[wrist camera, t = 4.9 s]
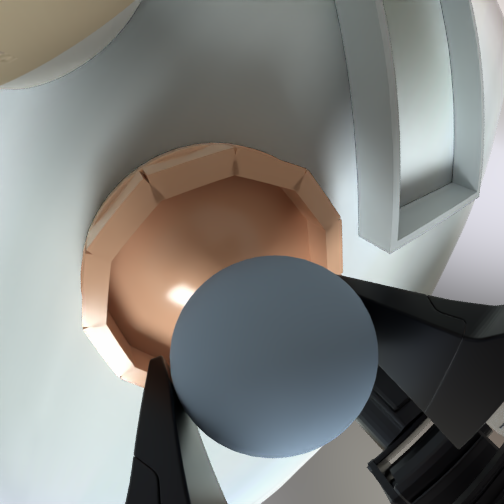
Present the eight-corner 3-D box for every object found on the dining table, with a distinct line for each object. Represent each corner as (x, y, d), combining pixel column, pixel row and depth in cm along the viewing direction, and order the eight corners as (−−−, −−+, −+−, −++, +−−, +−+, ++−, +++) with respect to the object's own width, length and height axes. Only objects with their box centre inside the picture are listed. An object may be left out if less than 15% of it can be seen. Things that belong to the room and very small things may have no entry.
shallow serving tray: (454, 187, 18) (478, 196, 16) (358, 236, 15) (389, 254, 13) (439, -15, 10) (466, -17, 8) (318, -60, 7) (351, -75, 5)
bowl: (319, 310, 16) (343, 331, 14) (146, 392, 13) (156, 424, 11) (301, 116, 11) (335, 120, 9) (36, 205, 8) (21, 226, 6)
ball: (294, 200, 10) (445, 285, 5) (307, 324, 12) (398, 414, 8) (122, 267, 8) (171, 450, 3) (184, 384, 11) (247, 508, 6)
